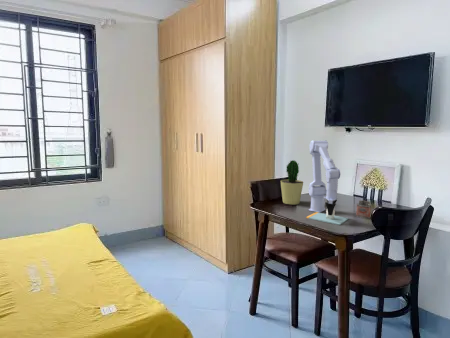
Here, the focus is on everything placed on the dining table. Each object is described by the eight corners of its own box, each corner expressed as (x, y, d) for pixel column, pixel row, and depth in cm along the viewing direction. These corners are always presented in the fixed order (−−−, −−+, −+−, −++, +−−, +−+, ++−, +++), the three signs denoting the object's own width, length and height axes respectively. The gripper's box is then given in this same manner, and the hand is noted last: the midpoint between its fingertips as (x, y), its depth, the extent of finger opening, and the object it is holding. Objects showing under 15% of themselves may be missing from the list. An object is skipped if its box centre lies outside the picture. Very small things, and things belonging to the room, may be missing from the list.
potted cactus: (287, 198, 236) (288, 157, 231) (306, 202, 226) (308, 159, 221) (275, 202, 224) (276, 159, 220) (295, 206, 214) (297, 161, 210)
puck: (326, 216, 189) (326, 208, 188) (334, 217, 188) (335, 209, 187) (325, 218, 185) (326, 210, 184) (334, 219, 183) (334, 211, 183)
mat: (316, 213, 199) (316, 212, 199) (348, 219, 187) (348, 218, 187) (306, 218, 188) (306, 217, 188) (339, 225, 176) (339, 223, 176)
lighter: (354, 216, 193) (356, 200, 191) (357, 215, 195) (358, 199, 194) (369, 219, 187) (370, 202, 186) (371, 218, 190) (372, 201, 188)
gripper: (325, 187, 192) (324, 209, 194) (323, 191, 179) (322, 215, 181) (338, 188, 189) (337, 210, 191) (336, 192, 176) (335, 217, 178)
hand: (330, 213), depth 186 cm, fingers open, 7 cm apart
